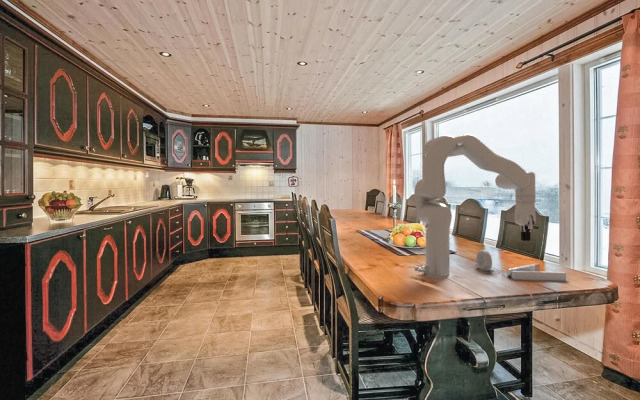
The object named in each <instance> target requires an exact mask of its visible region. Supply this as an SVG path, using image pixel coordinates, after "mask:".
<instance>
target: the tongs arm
mask: <svg viewBox="0 0 640 400" xmlns="http://www.w3.org/2000/svg"><path fill="white" fill-rule="evenodd" d="M506 271H507V272H506V273H507V277H512V271H541V263H536V262H535V263H531V264H526V265H519V266H517V267H512V268H507V269H506ZM507 277H506V278H507Z"/></svg>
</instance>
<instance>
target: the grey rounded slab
mask: <svg viewBox="0 0 640 400" xmlns="http://www.w3.org/2000/svg"><path fill="white" fill-rule="evenodd" d="M475 259H476V260H475V261H476V265H477V268H478V269H479V270H480V271H483V272H489V271H490V270H491V269H492V267H493V258H492V255H491V253H490V252H489V251H488V250H487V249H480V250H479V251H478V252H477V253H476V258H475Z"/></svg>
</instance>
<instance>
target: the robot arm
mask: <svg viewBox="0 0 640 400" xmlns="http://www.w3.org/2000/svg"><path fill="white" fill-rule="evenodd" d="M423 151H424V154H425V156H424V158H423V162H422V179H419V180H418V181H417V183H415V186H414V192H413V193H414V204H415V211H416V216H417V218H418V220H419V221H420V222H422V223H425V224H427V226H426V230H425V263H423V265H422V266H416V265H415V266H414V271H415V272H418V273H421V274H422V275H423V276H425V277H428V278H434V279H446V278H447V279H449V278H452V277H454V274H453V273H452V272H450V232H451V231H450V230H451V224H452V220H453V219H452V218H453V216H452V210H451V209H450V207H448V205H446V204H445V203H441V202H436V201H439V200H441V199H443V198H444V197H445V195H446V192H447V186H446V176H445V175H446V174H445V164H446V161H447V158H448V157H449V158H451V157H456V156H464V157H466V158H467V159H468V160H469V161H470V162H472V164H473V165H475V166H477V168H479V169H481V170H483V171H487V172H492V173H496V174H497V175H496V177H495V185H496V186H497V187H498V188H500V189H503V190H515V191H514V192H515V193H514V194H515V198H514V199H515V200H514V201H515V207H514V224H516V225H518V227H519V229H520V240H521V241H523V242H528V241H529V242H530V241H531V232H532V229H534V226H535V225H536V221H537V217H536V216H537V215H536V205H535V203H536V173H535V172H533V171H526V170H525V169H523V167H522V166H520V165H519V164H517V162H515V161H513V160H510V159H509V158H506V157H504V156H502V155H500V154H497V153H495V152H494V151H493V150H492V149H490V148H489V147H488V146H487V145H486V144H485V143H483V142H482V141H481V139H480V138H477V136H476V135H473V134H470V133H466V134H461V135H458V136H452V135H449V134H447V135H441V136H438V137H435V138H431V139H429V140H428V141H427V142H425V144H424V147H423Z"/></svg>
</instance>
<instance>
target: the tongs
mask: <svg viewBox="0 0 640 400" xmlns="http://www.w3.org/2000/svg"><path fill="white" fill-rule="evenodd" d="M499 274H501V276H503V277H505V278H507V279H509V280H510V281H511V282H514V281H515V282H516V281H517V282H540V283H541V282H545V283H546V282H548V283H549V282H550V283H570V281H569V280H567V272H564V271H545V270H544V271H543V270H542V271H541V270H540V271H512V277H507V272H500V271H499Z"/></svg>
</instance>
